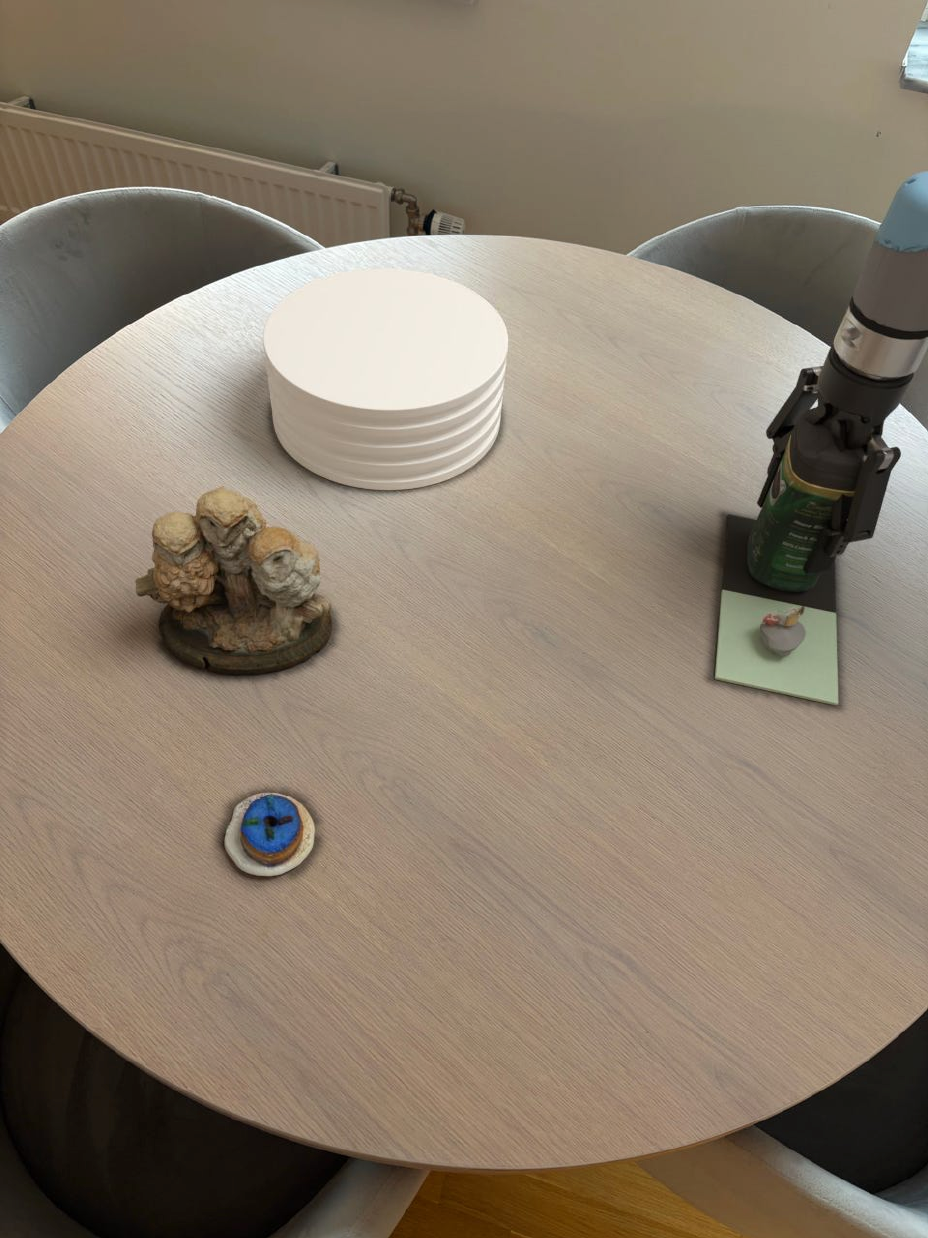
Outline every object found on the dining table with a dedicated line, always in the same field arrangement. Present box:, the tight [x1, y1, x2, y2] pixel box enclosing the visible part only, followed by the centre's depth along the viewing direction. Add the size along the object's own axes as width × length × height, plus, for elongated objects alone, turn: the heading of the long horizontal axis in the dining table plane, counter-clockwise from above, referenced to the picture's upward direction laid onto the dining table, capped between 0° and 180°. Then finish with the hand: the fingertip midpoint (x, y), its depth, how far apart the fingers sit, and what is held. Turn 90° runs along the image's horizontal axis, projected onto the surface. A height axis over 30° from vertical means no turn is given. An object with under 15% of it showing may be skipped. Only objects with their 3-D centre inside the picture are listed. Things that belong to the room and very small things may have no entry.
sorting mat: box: [714, 513, 839, 706], centre depth 101 cm, size 24×12×1 cm, turn 167°
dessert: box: [224, 792, 316, 877], centre depth 80 cm, size 8×7×6 cm
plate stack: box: [262, 267, 509, 491], centre depth 113 cm, size 28×28×12 cm
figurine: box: [760, 606, 806, 656], centre depth 95 cm, size 5×4×6 cm
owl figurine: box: [134, 486, 333, 675], centre depth 88 cm, size 18×12×17 cm, turn 94°
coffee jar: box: [747, 406, 866, 592], centre depth 97 cm, size 10×8×19 cm
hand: (791, 535), depth 101 cm, fingers open, 9 cm apart
